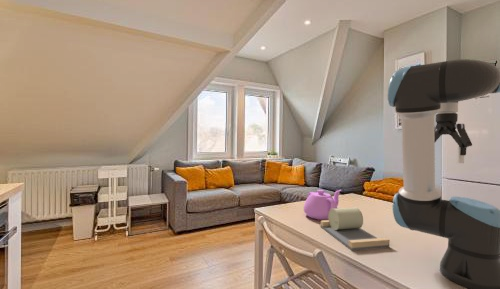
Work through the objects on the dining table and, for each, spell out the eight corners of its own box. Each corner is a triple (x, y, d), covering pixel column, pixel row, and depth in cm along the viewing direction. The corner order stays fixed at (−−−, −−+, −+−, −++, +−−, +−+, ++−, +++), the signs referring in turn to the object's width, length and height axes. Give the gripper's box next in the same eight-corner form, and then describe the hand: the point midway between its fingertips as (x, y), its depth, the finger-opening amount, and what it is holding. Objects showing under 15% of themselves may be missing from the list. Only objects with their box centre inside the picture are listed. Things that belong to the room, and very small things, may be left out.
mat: (389, 247, 95) (389, 239, 94) (351, 250, 91) (351, 242, 91) (351, 225, 118) (351, 218, 118) (320, 227, 115) (320, 220, 115)
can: (362, 232, 108) (337, 234, 106) (349, 222, 117) (326, 224, 115) (364, 212, 107) (339, 213, 104) (351, 203, 116) (328, 205, 113)
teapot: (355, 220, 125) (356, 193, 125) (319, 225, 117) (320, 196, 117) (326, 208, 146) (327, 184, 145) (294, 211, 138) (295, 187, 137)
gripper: (485, 110, 98) (482, 164, 98) (428, 115, 122) (426, 158, 123) (470, 110, 96) (467, 164, 97) (415, 115, 121) (413, 158, 121)
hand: (444, 161), depth 110 cm, fingers open, 13 cm apart
